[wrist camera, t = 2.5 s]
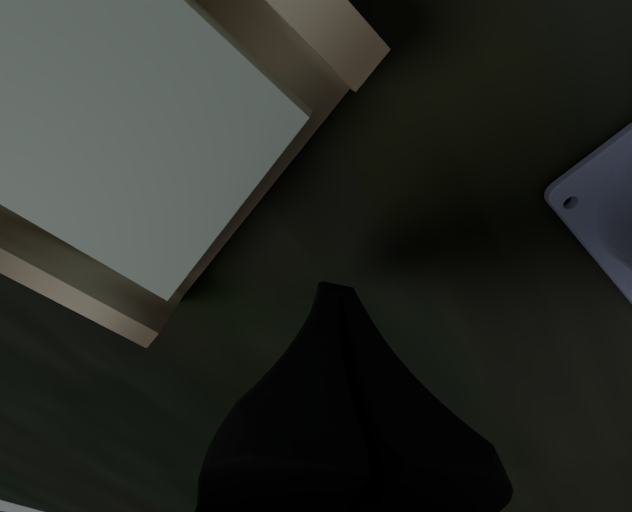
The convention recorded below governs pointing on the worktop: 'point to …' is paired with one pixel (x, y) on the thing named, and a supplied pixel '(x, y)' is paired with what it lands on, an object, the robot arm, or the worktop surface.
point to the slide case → (322, 97)
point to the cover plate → (134, 128)
